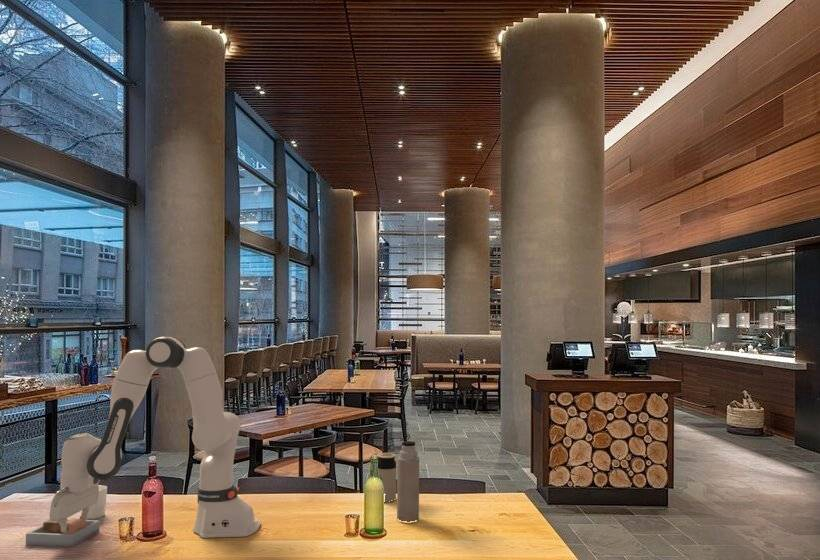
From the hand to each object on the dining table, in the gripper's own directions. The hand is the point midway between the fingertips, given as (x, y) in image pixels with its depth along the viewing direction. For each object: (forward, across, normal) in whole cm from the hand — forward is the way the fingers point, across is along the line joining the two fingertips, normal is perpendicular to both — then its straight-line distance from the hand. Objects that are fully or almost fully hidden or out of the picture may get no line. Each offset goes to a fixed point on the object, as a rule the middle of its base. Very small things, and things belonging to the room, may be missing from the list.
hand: (74, 526), depth 197 cm
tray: (+4, 0, +4) cm, 5 cm away
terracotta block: (+3, 0, 0) cm, 3 cm away
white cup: (+4, +21, +6) cm, 22 cm away
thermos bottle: (+4, +30, -108) cm, 113 cm away
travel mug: (+4, +52, -98) cm, 111 cm away
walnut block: (+3, 0, +7) cm, 8 cm away
